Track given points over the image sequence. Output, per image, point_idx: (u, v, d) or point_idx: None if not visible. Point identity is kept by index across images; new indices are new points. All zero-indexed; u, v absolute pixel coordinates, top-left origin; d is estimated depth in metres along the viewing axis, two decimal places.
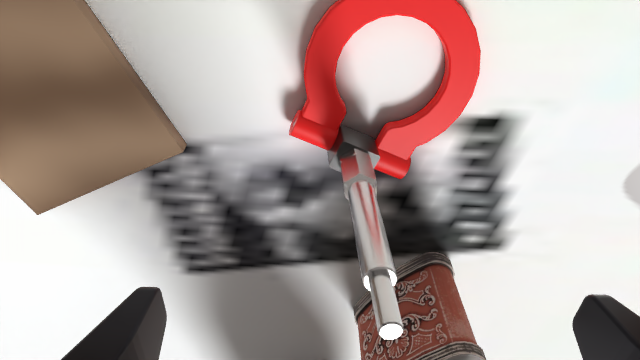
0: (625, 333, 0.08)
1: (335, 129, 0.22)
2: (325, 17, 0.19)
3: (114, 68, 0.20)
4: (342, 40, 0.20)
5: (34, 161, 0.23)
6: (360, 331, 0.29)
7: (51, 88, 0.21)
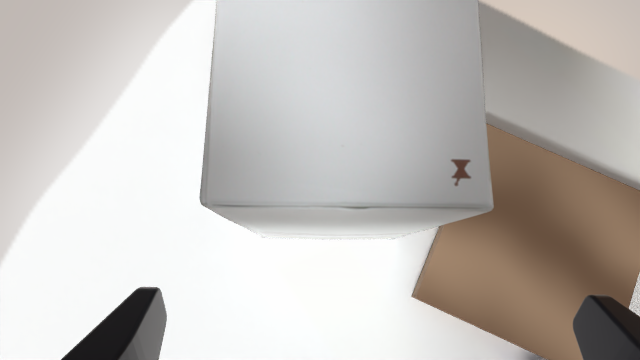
0: (625, 333, 0.08)
1: None
2: None
3: (627, 283, 0.22)
4: None
5: (482, 266, 0.22)
6: None
7: (568, 247, 0.22)
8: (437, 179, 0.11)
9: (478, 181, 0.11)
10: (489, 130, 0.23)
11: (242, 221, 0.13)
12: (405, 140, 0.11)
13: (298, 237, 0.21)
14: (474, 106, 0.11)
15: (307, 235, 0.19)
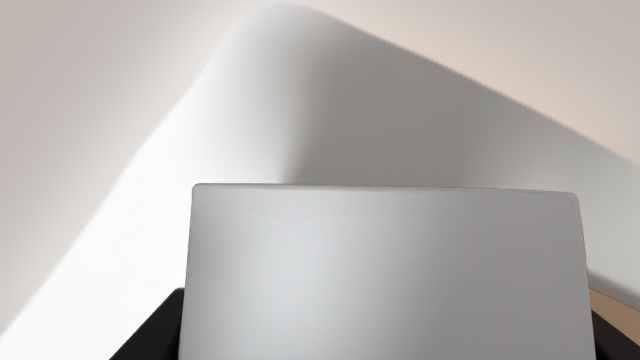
0: None
1: None
2: None
3: None
4: None
5: None
6: None
7: None
8: None
9: None
10: None
11: None
12: None
13: None
14: None
15: None
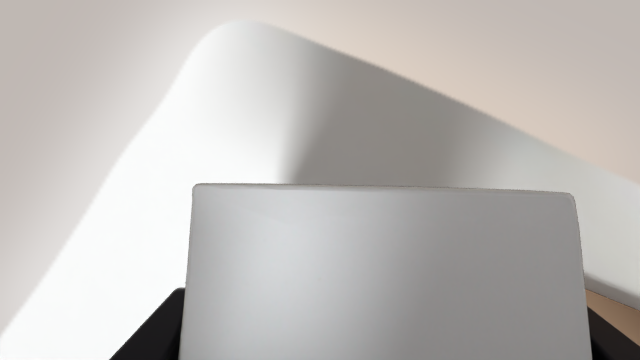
0: None
1: None
2: None
3: None
4: None
5: None
6: None
7: None
8: None
9: None
10: None
11: None
12: None
13: None
14: None
15: None
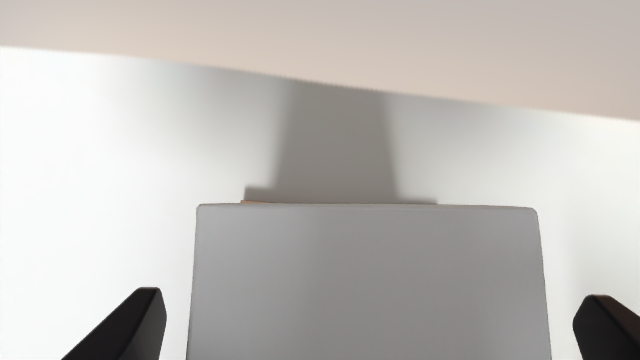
0: (625, 333, 0.08)
1: None
2: None
3: None
4: None
5: None
6: None
7: None
8: None
9: None
10: None
11: None
12: None
13: None
14: None
15: None
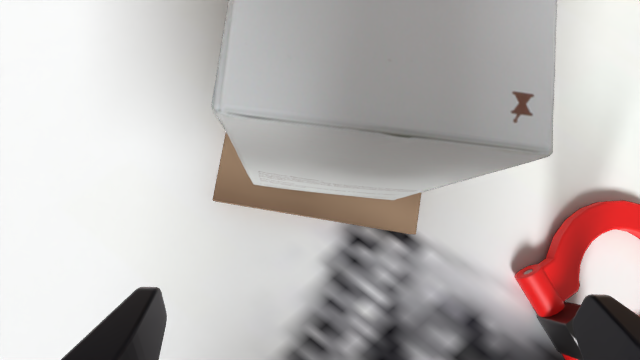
0: (625, 333, 0.08)
1: (563, 299, 0.22)
2: (599, 204, 0.23)
3: None
4: (604, 228, 0.23)
5: None
6: None
7: None
8: (494, 112, 0.09)
9: (540, 120, 0.09)
10: None
11: (250, 148, 0.11)
12: (462, 62, 0.09)
13: (295, 186, 0.19)
14: (544, 33, 0.09)
15: (307, 183, 0.17)
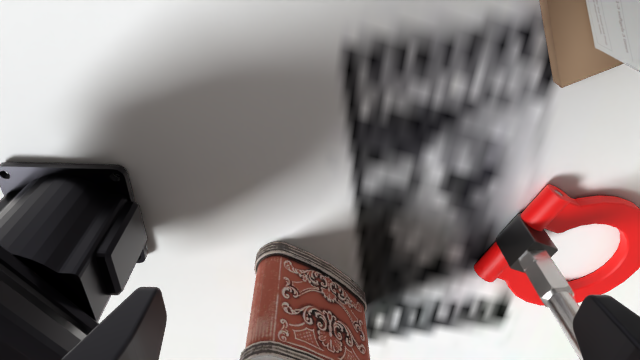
0: (625, 333, 0.08)
1: (545, 227, 0.24)
2: None
3: None
4: (622, 227, 0.24)
5: None
6: (280, 272, 0.24)
7: None
8: None
9: None
10: None
11: None
12: None
13: None
14: None
15: None
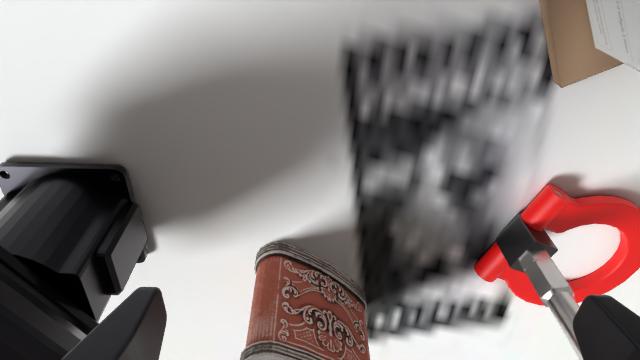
0: (625, 333, 0.08)
1: (545, 227, 0.24)
2: None
3: None
4: (622, 227, 0.24)
5: None
6: (280, 272, 0.24)
7: None
8: None
9: None
10: None
11: None
12: None
13: None
14: None
15: None
